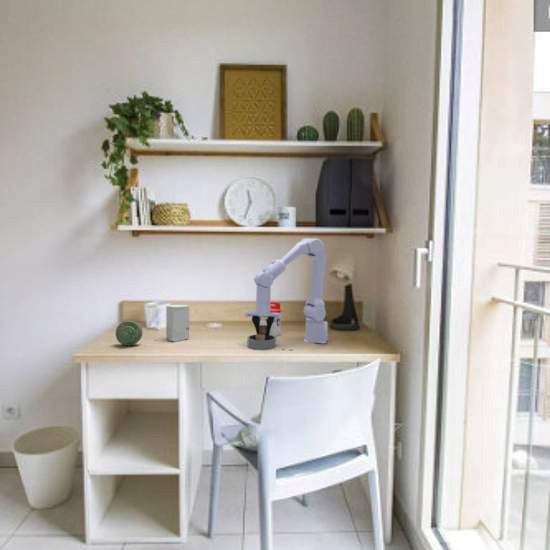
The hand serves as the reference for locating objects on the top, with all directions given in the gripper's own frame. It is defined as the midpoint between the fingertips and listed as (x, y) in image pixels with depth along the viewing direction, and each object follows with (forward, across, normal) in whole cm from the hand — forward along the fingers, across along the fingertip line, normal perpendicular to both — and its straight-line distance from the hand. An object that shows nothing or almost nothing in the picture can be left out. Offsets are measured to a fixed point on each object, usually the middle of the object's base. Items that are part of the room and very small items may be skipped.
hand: (263, 334), depth 168 cm
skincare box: (+5, -38, +1) cm, 38 cm away
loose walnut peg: (+1, 0, 0) cm, 1 cm away
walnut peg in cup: (+4, 0, -4) cm, 6 cm away
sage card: (+5, +11, -5) cm, 13 cm away
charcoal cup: (+5, 0, -2) cm, 5 cm away
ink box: (+5, -2, +21) cm, 21 cm away
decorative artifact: (+5, -52, -15) cm, 54 cm away
